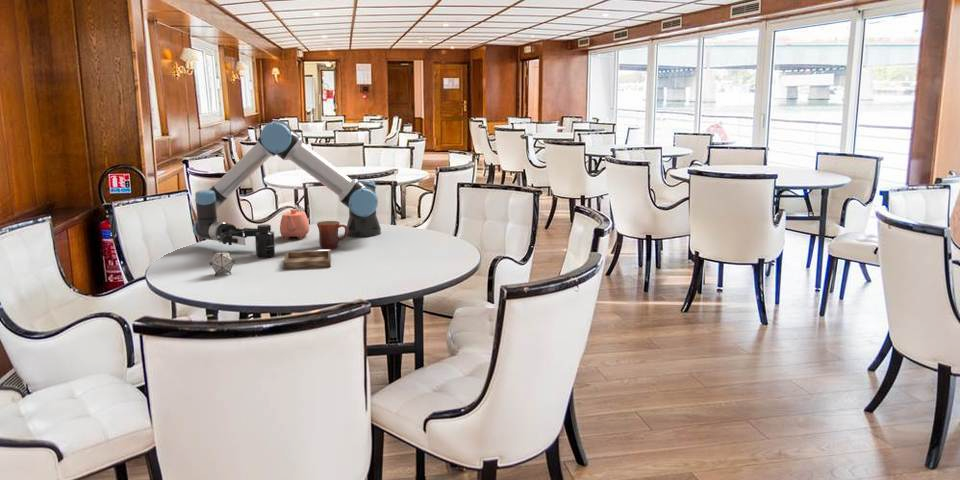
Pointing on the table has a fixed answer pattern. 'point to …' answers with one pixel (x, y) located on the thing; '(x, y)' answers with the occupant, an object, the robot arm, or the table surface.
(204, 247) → the table surface
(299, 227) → the teapot
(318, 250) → the pin
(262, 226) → the supplement bottle
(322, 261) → the tray
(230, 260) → the game die
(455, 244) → the table surface
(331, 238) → the mug
